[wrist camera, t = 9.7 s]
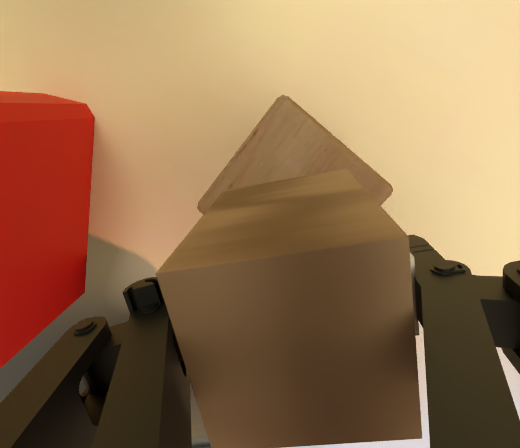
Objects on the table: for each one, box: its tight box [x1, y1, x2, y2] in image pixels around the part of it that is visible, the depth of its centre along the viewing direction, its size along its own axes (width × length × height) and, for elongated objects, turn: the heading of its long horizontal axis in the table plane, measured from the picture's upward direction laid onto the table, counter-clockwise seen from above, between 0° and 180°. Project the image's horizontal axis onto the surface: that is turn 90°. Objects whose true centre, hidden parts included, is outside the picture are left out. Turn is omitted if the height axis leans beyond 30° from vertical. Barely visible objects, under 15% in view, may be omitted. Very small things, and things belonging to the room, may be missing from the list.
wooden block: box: [197, 95, 393, 214], centre depth 33 cm, size 10×10×20 cm
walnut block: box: [156, 169, 422, 448], centre depth 13 cm, size 6×6×9 cm
